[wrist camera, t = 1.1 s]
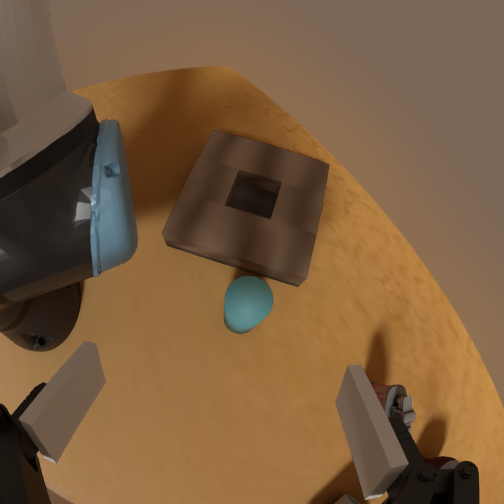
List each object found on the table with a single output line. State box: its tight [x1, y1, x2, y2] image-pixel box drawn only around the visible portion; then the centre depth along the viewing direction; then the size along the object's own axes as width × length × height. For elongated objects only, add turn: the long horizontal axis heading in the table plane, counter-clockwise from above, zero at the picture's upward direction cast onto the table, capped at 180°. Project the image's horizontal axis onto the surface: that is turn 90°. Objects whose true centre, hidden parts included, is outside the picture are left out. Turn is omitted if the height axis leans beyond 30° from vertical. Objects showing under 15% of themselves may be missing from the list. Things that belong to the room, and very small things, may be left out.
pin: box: [224, 276, 273, 334], centre depth 29 cm, size 4×4×12 cm
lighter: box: [370, 382, 415, 434], centre depth 27 cm, size 8×3×10 cm, turn 1°
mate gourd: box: [423, 456, 459, 469], centre depth 21 cm, size 8×8×15 cm
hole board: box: [162, 130, 330, 287], centre depth 38 cm, size 18×18×4 cm
